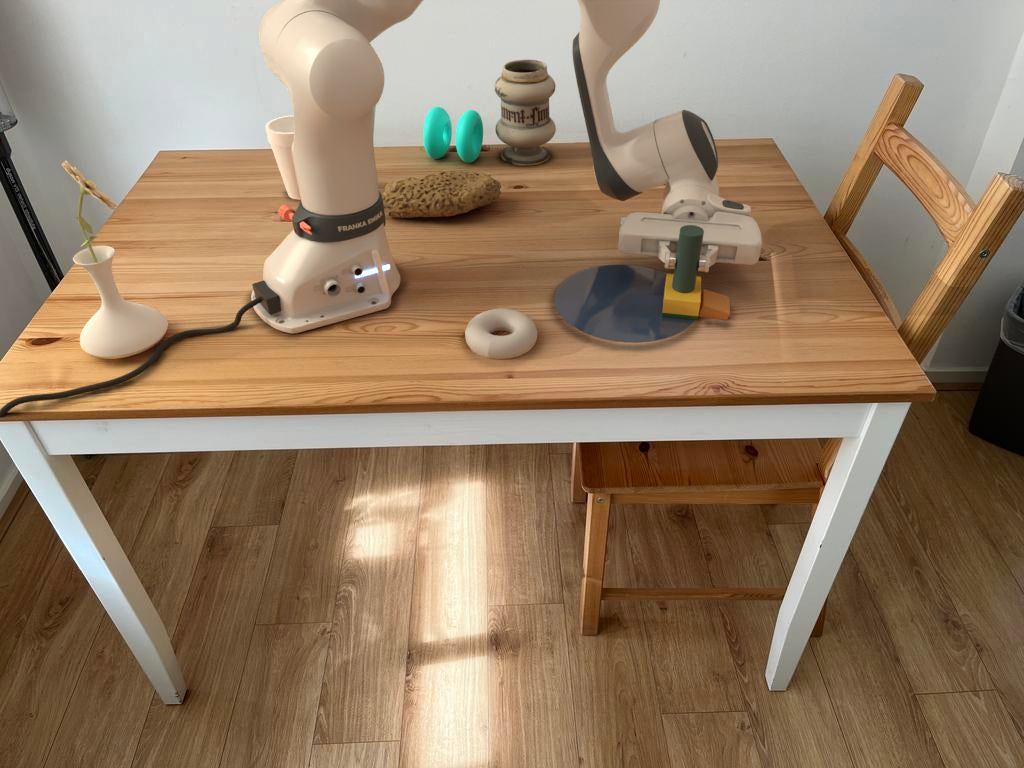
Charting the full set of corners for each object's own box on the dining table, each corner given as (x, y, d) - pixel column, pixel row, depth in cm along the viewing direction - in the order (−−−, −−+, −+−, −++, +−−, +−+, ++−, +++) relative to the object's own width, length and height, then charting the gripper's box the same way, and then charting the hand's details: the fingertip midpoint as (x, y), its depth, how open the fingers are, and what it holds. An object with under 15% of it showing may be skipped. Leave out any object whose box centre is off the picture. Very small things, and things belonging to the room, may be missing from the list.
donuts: (470, 171, 152) (468, 120, 146) (423, 165, 154) (418, 116, 148) (485, 152, 159) (484, 103, 153) (440, 147, 161) (437, 99, 155)
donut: (537, 324, 110) (468, 322, 110) (538, 304, 108) (467, 302, 108) (537, 367, 102) (462, 365, 102) (538, 346, 100) (461, 344, 100)
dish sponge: (697, 320, 108) (710, 244, 101) (661, 316, 109) (672, 241, 102) (698, 293, 114) (710, 220, 106) (664, 290, 115) (674, 217, 107)
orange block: (697, 316, 109) (703, 305, 108) (698, 299, 113) (703, 288, 111) (724, 325, 109) (730, 314, 108) (724, 308, 113) (729, 297, 111)
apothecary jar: (484, 158, 156) (480, 67, 145) (519, 140, 164) (519, 52, 153) (531, 173, 151) (532, 79, 139) (566, 154, 158) (569, 62, 147)
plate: (624, 367, 102) (625, 361, 101) (525, 300, 115) (525, 295, 114) (727, 312, 112) (729, 306, 111) (625, 256, 125) (626, 251, 124)
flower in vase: (169, 358, 104) (107, 184, 89) (78, 373, 102) (-2, 197, 86) (173, 307, 114) (118, 143, 99) (91, 320, 112) (20, 154, 96)
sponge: (385, 233, 134) (495, 216, 130) (373, 188, 131) (485, 169, 127) (405, 212, 146) (507, 196, 141) (395, 171, 142) (499, 153, 138)
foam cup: (320, 178, 150) (308, 111, 142) (337, 195, 144) (326, 126, 136) (272, 189, 146) (258, 121, 138) (288, 207, 140) (273, 137, 132)
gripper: (622, 195, 117) (613, 239, 106) (762, 206, 113) (766, 252, 103) (619, 233, 121) (610, 278, 110) (754, 244, 117) (757, 292, 107)
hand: (687, 266), depth 106 cm, fingers closed on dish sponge, 3 cm apart
